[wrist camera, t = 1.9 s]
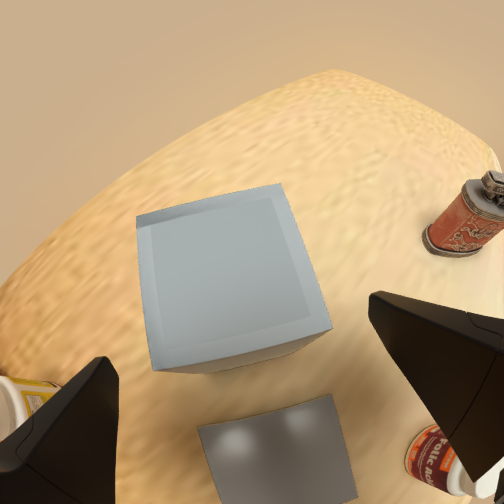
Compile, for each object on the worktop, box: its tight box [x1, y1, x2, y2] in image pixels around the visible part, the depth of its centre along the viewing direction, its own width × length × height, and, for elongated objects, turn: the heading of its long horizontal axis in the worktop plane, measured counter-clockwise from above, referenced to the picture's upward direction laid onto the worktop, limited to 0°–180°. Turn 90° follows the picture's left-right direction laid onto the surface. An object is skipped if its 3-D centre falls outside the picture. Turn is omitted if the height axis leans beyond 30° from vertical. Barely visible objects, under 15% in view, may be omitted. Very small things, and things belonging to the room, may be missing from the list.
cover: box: [136, 183, 333, 374], centre depth 14 cm, size 6×6×10 cm
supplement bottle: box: [0, 376, 61, 440], centre depth 11 cm, size 5×5×8 cm
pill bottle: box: [405, 425, 504, 499], centre depth 10 cm, size 5×5×8 cm
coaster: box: [197, 394, 358, 504], centre depth 14 cm, size 9×9×1 cm
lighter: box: [422, 170, 504, 258], centre depth 17 cm, size 8×3×10 cm, turn 90°
